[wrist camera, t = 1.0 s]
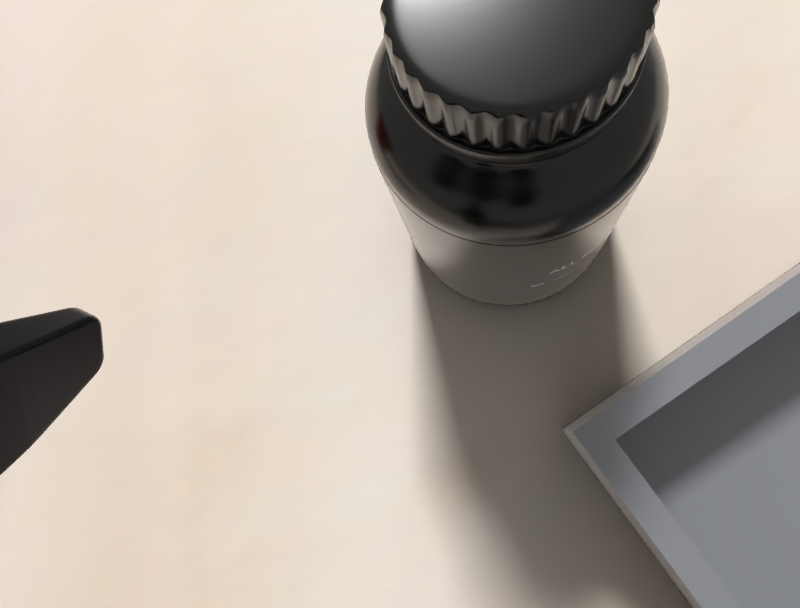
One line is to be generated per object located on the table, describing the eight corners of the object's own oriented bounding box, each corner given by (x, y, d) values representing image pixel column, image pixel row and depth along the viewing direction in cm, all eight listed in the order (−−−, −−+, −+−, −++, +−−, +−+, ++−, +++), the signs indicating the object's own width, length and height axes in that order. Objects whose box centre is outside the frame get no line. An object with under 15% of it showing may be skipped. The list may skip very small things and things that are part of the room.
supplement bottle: (592, 324, 22) (695, 215, 10) (394, 290, 23) (277, 156, 11) (624, 131, 23) (751, -177, 11) (431, 108, 24) (360, -190, 12)
